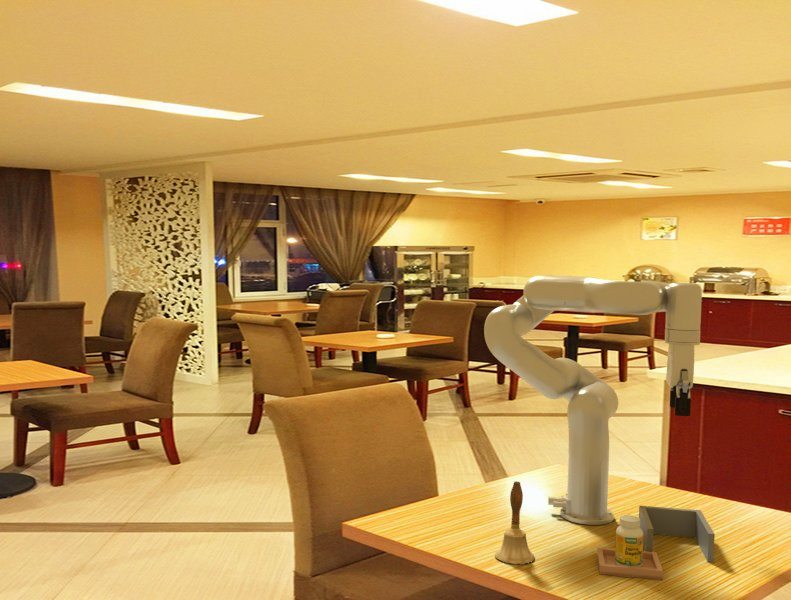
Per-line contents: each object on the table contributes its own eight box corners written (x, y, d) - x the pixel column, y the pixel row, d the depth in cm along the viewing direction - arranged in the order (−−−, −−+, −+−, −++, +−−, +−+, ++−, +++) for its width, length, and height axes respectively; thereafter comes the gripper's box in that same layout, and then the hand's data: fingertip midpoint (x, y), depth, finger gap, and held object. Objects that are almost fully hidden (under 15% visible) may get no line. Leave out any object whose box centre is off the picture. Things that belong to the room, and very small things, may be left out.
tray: (599, 574, 157) (600, 565, 156) (596, 555, 166) (597, 547, 166) (662, 580, 154) (663, 571, 154) (656, 560, 164) (656, 552, 164)
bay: (646, 556, 166) (647, 528, 166) (638, 531, 182) (639, 505, 181) (713, 562, 164) (714, 534, 163) (699, 536, 179) (700, 510, 179)
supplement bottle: (633, 558, 164) (635, 513, 163) (647, 568, 158) (649, 521, 158) (610, 560, 162) (611, 514, 162) (623, 570, 157) (624, 523, 157)
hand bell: (492, 549, 169) (494, 476, 168) (531, 550, 169) (533, 477, 168) (496, 564, 161) (498, 487, 160) (537, 565, 160) (539, 488, 160)
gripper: (661, 332, 188) (658, 403, 189) (669, 340, 171) (666, 418, 172) (694, 334, 186) (691, 405, 187) (705, 341, 170) (702, 420, 171)
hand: (679, 411), depth 180 cm, fingers open, 9 cm apart
